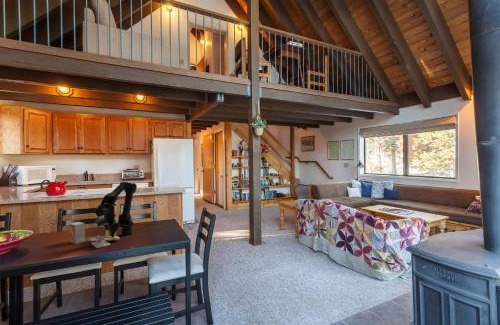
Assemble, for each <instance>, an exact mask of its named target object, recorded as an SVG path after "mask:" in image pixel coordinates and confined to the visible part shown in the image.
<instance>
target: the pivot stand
mask: <svg viewBox="0 0 500 325" xmlns="http://www.w3.org/2000/svg"><path fill="white" fill-rule="evenodd" d="M96 237H101V235H99V234H98V235H97V236H96ZM91 245H92V246H94V247H95V248H97V249H98V248H102V247H107V246H110V245H111V243H109V242H108V240H104V238H102V240H97V241H94V242H93V241H92V242H91Z"/></svg>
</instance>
